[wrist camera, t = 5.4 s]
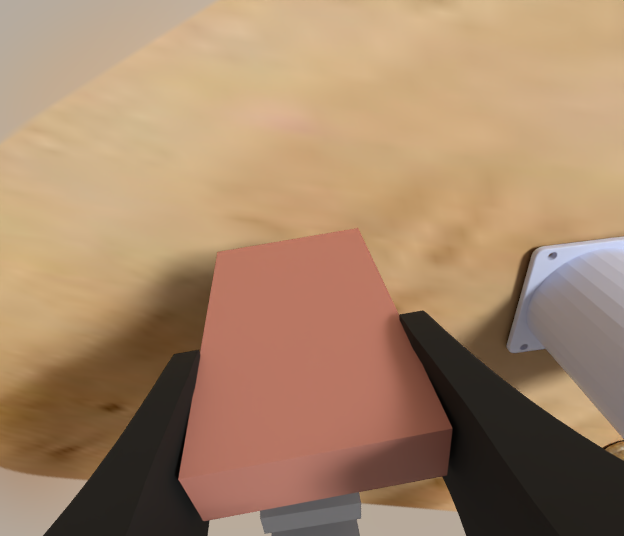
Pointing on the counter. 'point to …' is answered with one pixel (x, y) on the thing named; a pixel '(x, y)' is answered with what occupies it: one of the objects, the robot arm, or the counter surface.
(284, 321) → the red domino
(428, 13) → the counter surface
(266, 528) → the domino
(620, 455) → the sprinkles bottle
